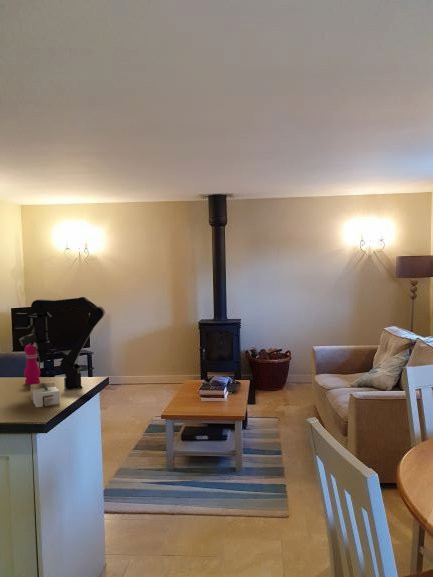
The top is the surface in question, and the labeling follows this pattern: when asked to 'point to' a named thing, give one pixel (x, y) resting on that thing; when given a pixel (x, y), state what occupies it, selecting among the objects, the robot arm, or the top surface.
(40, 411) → the top surface
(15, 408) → the top surface
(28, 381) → the pepper mill
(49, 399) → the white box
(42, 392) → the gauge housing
